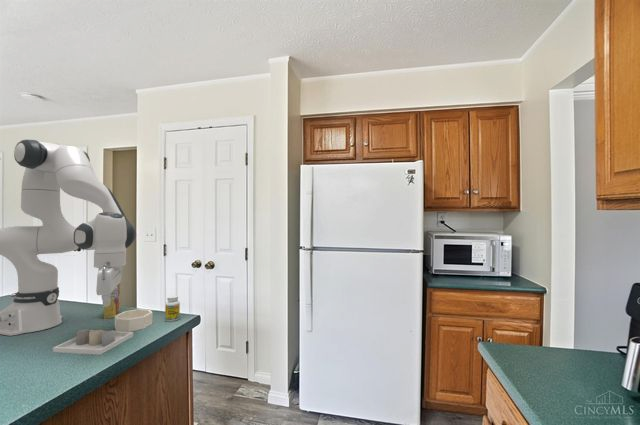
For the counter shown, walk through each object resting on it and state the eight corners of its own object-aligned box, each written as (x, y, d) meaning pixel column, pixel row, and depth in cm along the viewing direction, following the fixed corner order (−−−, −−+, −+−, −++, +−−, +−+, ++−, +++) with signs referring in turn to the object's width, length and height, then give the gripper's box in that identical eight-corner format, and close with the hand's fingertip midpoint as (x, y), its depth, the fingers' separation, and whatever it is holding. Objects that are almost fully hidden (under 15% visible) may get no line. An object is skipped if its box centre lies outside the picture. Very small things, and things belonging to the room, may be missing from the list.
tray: (52, 354, 91) (52, 347, 91) (91, 335, 105) (91, 330, 105) (100, 356, 89) (100, 350, 89) (133, 337, 103) (133, 332, 103)
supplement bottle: (178, 316, 126) (179, 294, 126) (180, 320, 121) (180, 297, 122) (164, 318, 123) (165, 295, 123) (165, 322, 118) (166, 299, 119)
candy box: (108, 312, 130) (109, 278, 130) (119, 311, 131) (120, 277, 132) (102, 319, 121) (103, 282, 122) (114, 317, 123) (115, 281, 123)
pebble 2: (85, 345, 95) (86, 333, 95) (95, 341, 99) (95, 329, 99) (96, 346, 95) (96, 333, 95) (105, 341, 99) (105, 329, 99)
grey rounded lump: (98, 346, 95) (98, 334, 95) (107, 341, 99) (107, 329, 99) (109, 346, 95) (109, 334, 95) (117, 342, 98) (117, 330, 98)
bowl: (107, 332, 108) (107, 318, 108) (130, 320, 120) (130, 308, 120) (137, 333, 107) (137, 320, 107) (157, 321, 119) (158, 309, 119)
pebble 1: (73, 345, 96) (73, 332, 96) (82, 340, 99) (83, 328, 99) (83, 345, 95) (83, 333, 96) (92, 340, 99) (93, 329, 99)
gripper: (116, 264, 89) (115, 309, 89) (126, 256, 108) (125, 294, 107) (90, 266, 86) (89, 312, 86) (105, 257, 105) (104, 296, 104)
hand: (109, 302), depth 97 cm, fingers open, 8 cm apart
